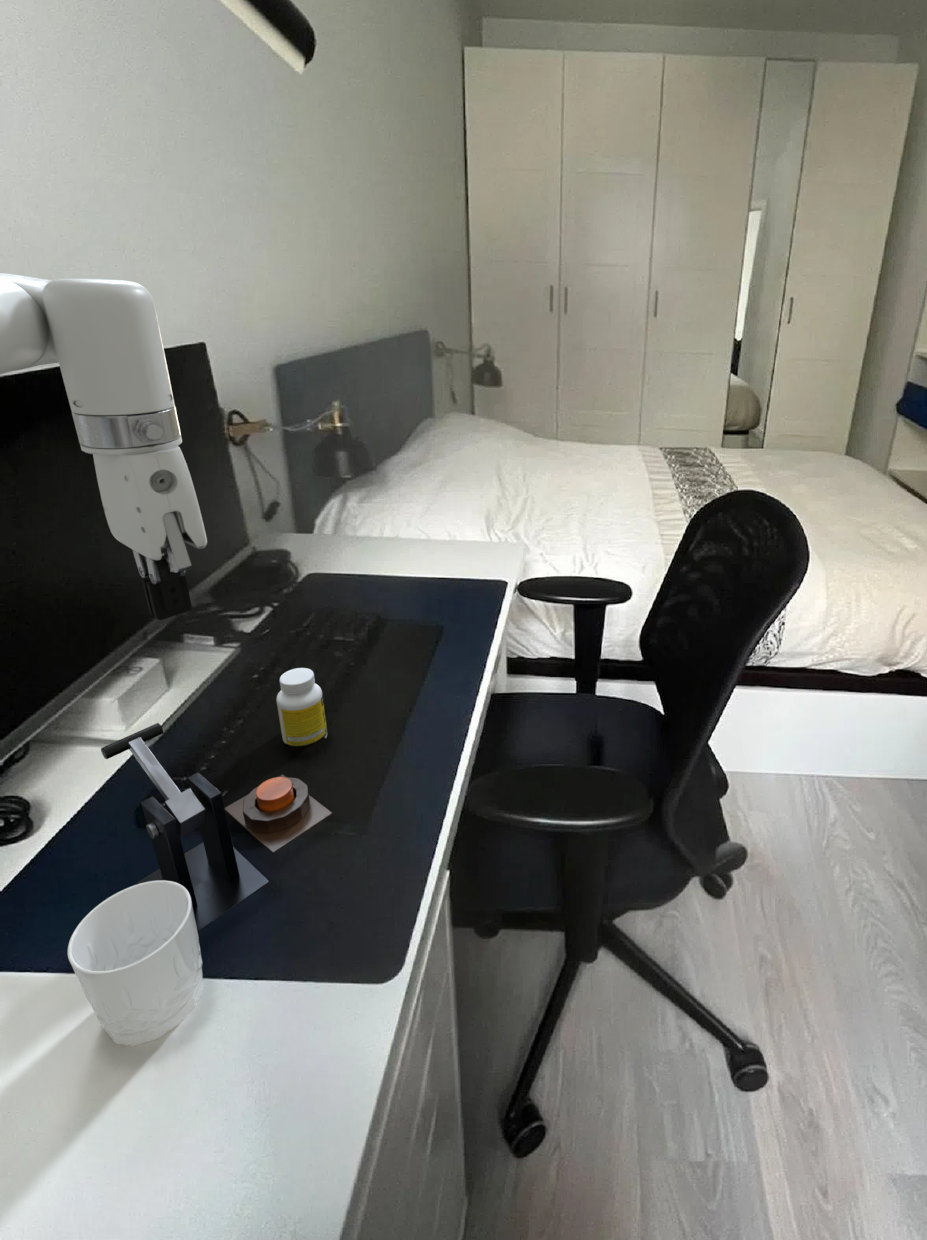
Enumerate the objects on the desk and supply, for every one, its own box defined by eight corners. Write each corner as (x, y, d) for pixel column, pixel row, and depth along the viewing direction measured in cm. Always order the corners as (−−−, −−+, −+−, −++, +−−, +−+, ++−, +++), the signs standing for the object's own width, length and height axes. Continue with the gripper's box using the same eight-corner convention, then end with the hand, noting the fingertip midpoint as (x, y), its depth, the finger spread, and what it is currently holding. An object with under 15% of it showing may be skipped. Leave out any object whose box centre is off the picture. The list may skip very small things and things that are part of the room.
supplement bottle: (335, 740, 85) (327, 676, 82) (294, 759, 82) (283, 693, 78) (316, 721, 89) (307, 660, 85) (276, 739, 85) (265, 675, 81)
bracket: (137, 892, 63) (108, 797, 59) (220, 840, 70) (200, 752, 65) (186, 951, 58) (158, 852, 54) (271, 890, 64) (253, 796, 60)
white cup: (81, 1024, 52) (47, 937, 48) (181, 947, 58) (158, 864, 55) (131, 1085, 48) (99, 995, 45) (233, 995, 55) (212, 910, 51)
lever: (101, 757, 63) (99, 742, 61) (158, 731, 67) (157, 716, 65) (164, 847, 58) (163, 833, 57) (220, 814, 62) (221, 800, 61)
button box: (225, 816, 73) (220, 795, 72) (284, 782, 78) (280, 762, 77) (274, 861, 67) (270, 839, 66) (334, 821, 73) (331, 800, 72)
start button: (251, 802, 71) (249, 790, 71) (282, 784, 74) (280, 772, 73) (269, 818, 69) (267, 805, 69) (300, 798, 72) (298, 786, 71)
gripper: (215, 436, 56) (248, 622, 63) (139, 412, 64) (176, 580, 71) (117, 450, 51) (165, 653, 58) (47, 422, 59) (97, 604, 65)
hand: (171, 612), depth 64 cm, fingers closed
